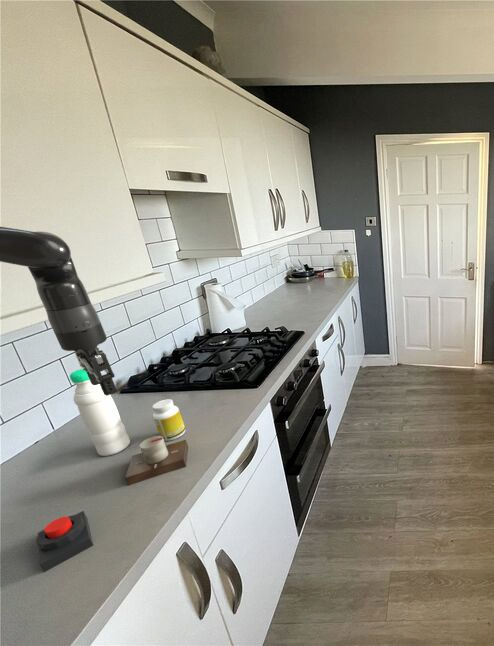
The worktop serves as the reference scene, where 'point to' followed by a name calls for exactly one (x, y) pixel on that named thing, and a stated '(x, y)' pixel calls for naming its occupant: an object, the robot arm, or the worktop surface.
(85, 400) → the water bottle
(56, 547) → the switch block
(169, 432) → the pill bottle
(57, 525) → the light button
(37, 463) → the worktop surface
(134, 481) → the dimmer panel
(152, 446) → the dimmer knob
